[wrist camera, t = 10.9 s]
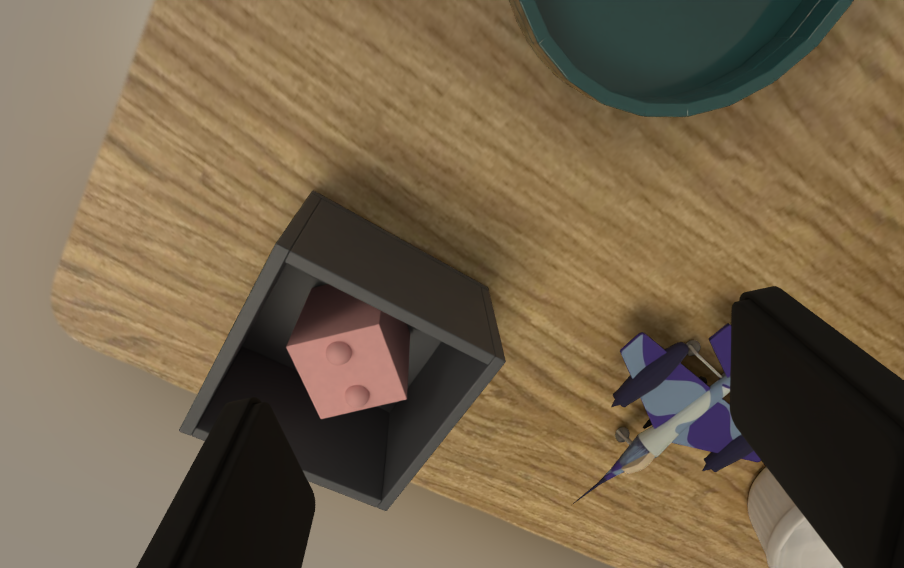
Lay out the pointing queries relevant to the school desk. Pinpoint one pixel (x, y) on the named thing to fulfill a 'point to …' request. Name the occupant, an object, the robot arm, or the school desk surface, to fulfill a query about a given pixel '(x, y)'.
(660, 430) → the toy airplane
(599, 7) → the bowl
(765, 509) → the ramekin
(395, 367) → the pink toy
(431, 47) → the school desk surface
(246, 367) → the bin
